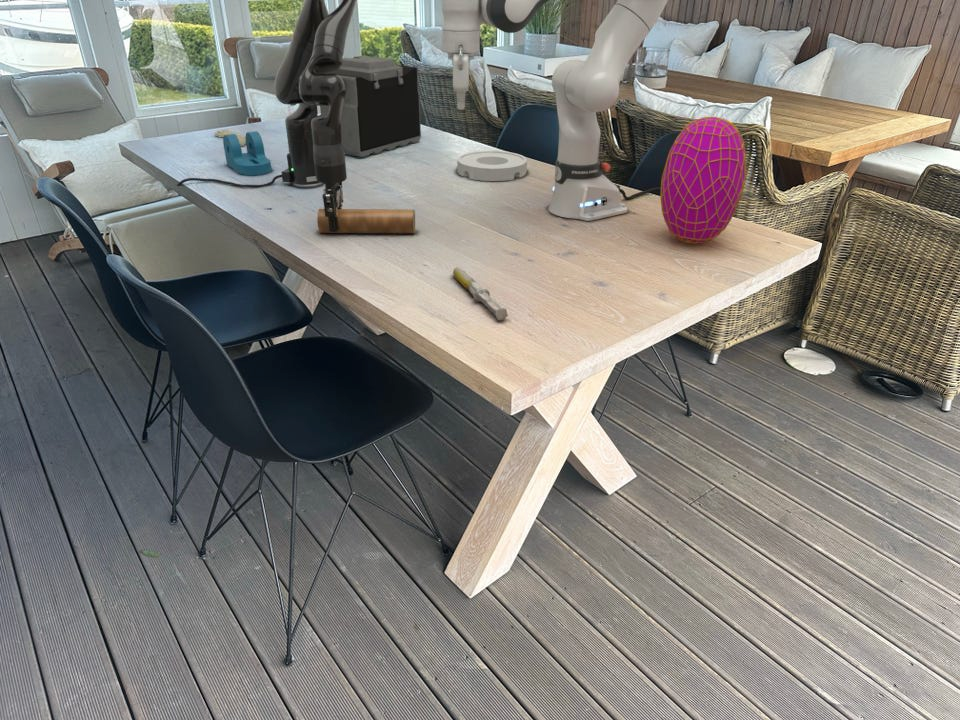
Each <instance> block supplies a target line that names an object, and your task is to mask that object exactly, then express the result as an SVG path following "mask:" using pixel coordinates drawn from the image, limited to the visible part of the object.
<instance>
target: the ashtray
mask: <svg viewBox="0 0 960 720" xmlns="http://www.w3.org/2000/svg"><path fill="white" fill-rule="evenodd" d="M456 161H457V162H456V163H457V164H456V165H457V169H456V170H457V174H458V175H460V176H461V177H464V178H465V177H467V178H468V179H470V180H473V181H474V180H475V181H482V182H503V181H504V182H506V181H512V180H515V178H516V179H517V178H519V179H520V178H523V177H524V176H526V175H527V172H528V159H527V157H526V156H524V155H522V154H519V153H516V152H511V151H503V150H478V151H471V152H470V151H469V152H466V153H463V154H460V155H459V156H458V157H457V158H456Z"/></svg>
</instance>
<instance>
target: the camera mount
mask: <svg viewBox="0 0 960 720" xmlns="http://www.w3.org/2000/svg"><path fill="white" fill-rule="evenodd" d="M245 136H246V137H245V139H246V144H245V146H246V152H243V151H242V150H243V149H242V146H240V142H239V140H238V138H237V136H236V135H235V134H230V135H224V137H222V140H223V141H222V143H223V149H224V150H223V151H224V156H225V161H226V165H227V166H228V167H230V168H231V169H232V170H234V171H236V172H237V173H238V174H239V175H244V176H260V175H265V174H268V173H271V172H272V164H271V159H270V158H268V157H267V156H266V153H265V145H264V141H263V139H262V136H261V134H260V132H258V131H247V132H246V133H245Z"/></svg>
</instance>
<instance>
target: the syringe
mask: <svg viewBox="0 0 960 720" xmlns="http://www.w3.org/2000/svg"><path fill="white" fill-rule="evenodd" d="M452 274H453V277H454V279H455V280H457V281H458V282H459V283H460V285H462V287H464V289H466V290H467V291H468V293H470V295H471V296H472V298H473V300H474V302H477V303H478V302H480V303H482V304H483V305H484V306H485V307H486V308H487V309H488V310H489V311H490V312H491V313H492V314H493V315H494V316H495V317H496V320H497V321H503V320H504V319H506V318H507V317H509V314H508V310H507V308H506V307H502V306H501V305H500V303H498V302H497V301H496V300H494V299H493V298H492V297H491V296H490V295H491V293H490V290H488V289H486V288H483V287H482V286H481V285H480V284H479V283H478V282H477V281H476V280H474V278H473V277H471V275H469V274H468V273H467V272H466V270H465V269H464V268H463V267H462V266H456V267H454V268H453V271H452Z"/></svg>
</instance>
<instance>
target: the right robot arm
mask: <svg viewBox="0 0 960 720" xmlns="http://www.w3.org/2000/svg"><path fill="white" fill-rule="evenodd" d="M549 1H550V0H441V11H442V15H443V19H442V20H443V21H442V26H441V48H442V49H441V51H442V52H444V53H447V59H448V60H450V61H451V63H452V90H453V91H454V92H456V93H455V94H456V95H455V96H456V108H457V109H458V110H465V109H466V92H468V91H469V88H470V76H469V75H470V69H471V61H473V60H475V54H476V53H479V52H480V51H481V50H480V48H481V47H480V45H481V43H480V42H481V40H480V39H481V37H480V36H481V26H482V25H487V26H490V27H492V28H495V29H498V30H499V31H502V32H504V33H507V34H514V33H518V32H520V31H521V30H523V29H524V28H526V27H527V26H528V24H529V23H530V22H531V20H532V19H533V18H534V16H535V15H536V13H537V12H538V10H540V8H541V7H542V6H544V5H545V4H546V3H547V2H549ZM668 1H669V0H617V1H616V2H615V4H614V5H613V6H612V8H611V9H610V11H609V12H608V14H607V15H606V17H605V18H604V19H603V20H602V22H601V24H600V25H599V27H598V28H596V31H595V34H594V41H593V44H592V46H591V49H590V51H589V55H588V56H587V58H586V59H584V60H582V59H577V58H576V59H569V60H565V61H563V62H561V63H560V64H558V65H557V66H556V68H555V69H554V71H553V73H552V76H551V86H552V89H553V92H554V95H555V103H556V113H557V121H558V147H557V158H556V159H555V167H554V185H553V187H552V191H553V192H552V196H551V200H550V204H549V206H548V209H547V210H548V212H549V213H550V214H552V215H554V216H558V217H561V218H566V219H574V220H580V221H586V222H593V221H596V220H600V219H604V218H611V217H613V216H619V215H622V214H627V213H628V206H627V205H626V204H624V203H623V202H622V201H621V195H622V198H623V199H624V200H626V201H629V200H632V199H634V198H636V197H639V196H643V195H645V194H649V193H651V192H655V191H656V192H657V191H660V192H661V187H652V188H649V189H646V190H643V191H639V192H636V193H633V194H631V195H630V196H627V194H626V192H625V191H624V190H623V189H622V188H621V185H619V184H616V183H614V182H612V181H611V180H610V179H609V178H608V177H607V176H605V174H604V172H609V171H610V170H611V168H612V167H611V165H610V164H609V163H607V162H602V161H600V160H599V155H600V146H601V145H600V144H601V135H602V134H601V128H600V125H599V122H598V118H597V113H602V112H603V113H604V112H606V111H608V110H609V109H611V108H612V107H613V106H614V105H615V104H616V102H617V100H618V97H619V95H620V83H621V80H622V78H623V75H624V73H625V71H626V68H627V66H628V64H629V62H630V60H631V59H632V57H633V56H634V54H635V53H636V51H637V50H638V49H639V47H640V46H641V44H642V43H643V42H644V40H645V39H646V38H647V36H648V35H649V33H650V32H651V31H652V29H653V28H654V26H655V25H656V23H657V21H658V20H659V18H660V17H661V15H662V13H663V11H664V9H665V8H666V5H667V4H668ZM603 171H604V172H603Z"/></svg>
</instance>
